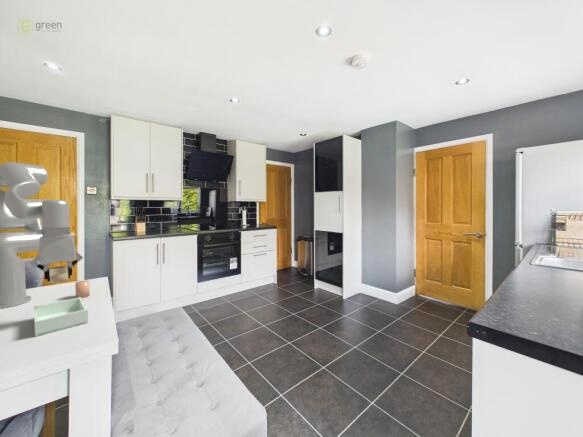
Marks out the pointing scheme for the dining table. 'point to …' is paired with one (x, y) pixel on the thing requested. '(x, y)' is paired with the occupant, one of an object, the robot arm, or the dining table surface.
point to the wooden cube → (58, 274)
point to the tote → (59, 316)
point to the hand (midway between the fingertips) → (58, 278)
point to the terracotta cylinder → (82, 289)
